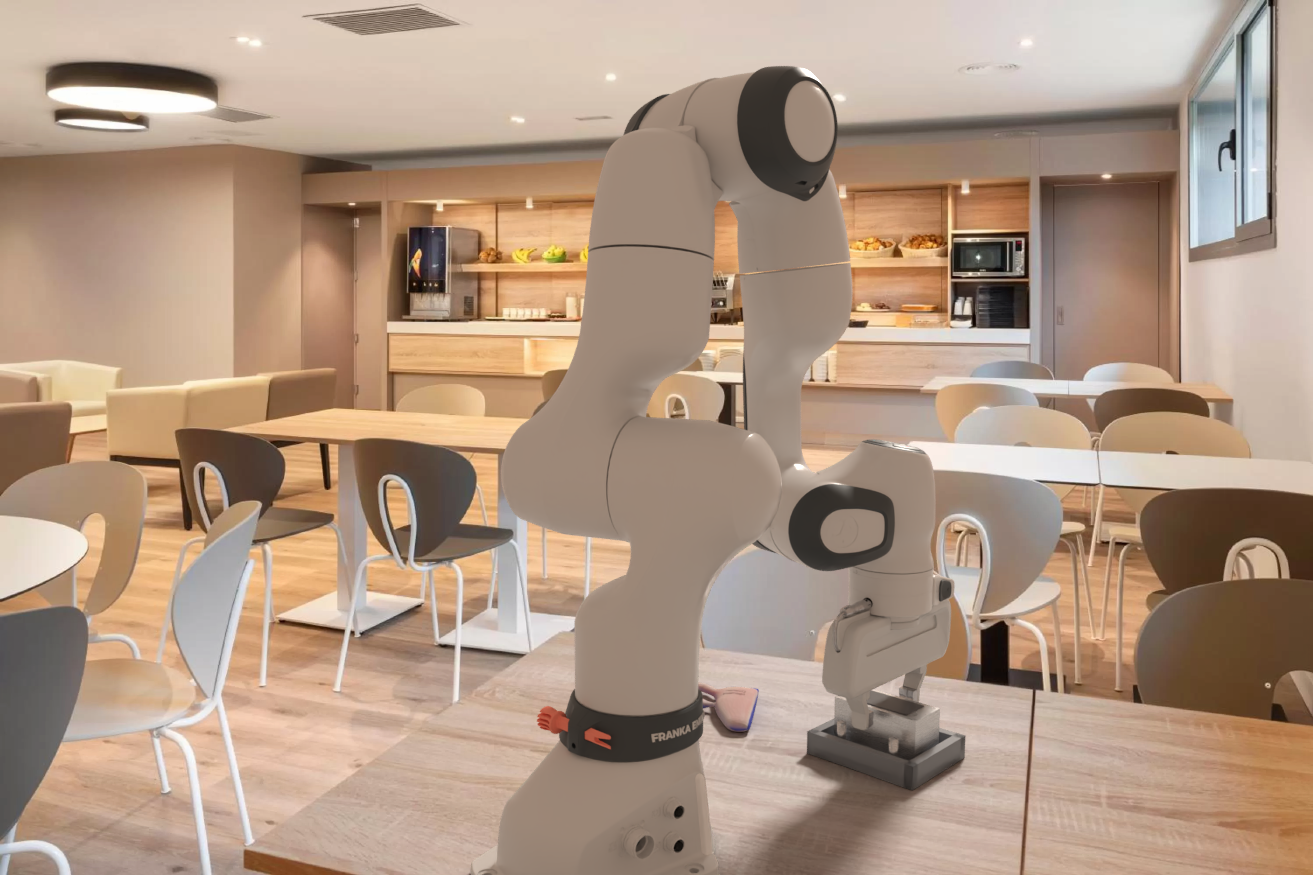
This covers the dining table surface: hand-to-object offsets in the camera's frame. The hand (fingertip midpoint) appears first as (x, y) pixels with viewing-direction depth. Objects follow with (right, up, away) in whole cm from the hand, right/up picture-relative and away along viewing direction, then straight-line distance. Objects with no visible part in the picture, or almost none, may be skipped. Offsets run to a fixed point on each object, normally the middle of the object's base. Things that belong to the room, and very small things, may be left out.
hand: (886, 714), depth 115 cm
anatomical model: (-23, -3, +15) cm, 28 cm away
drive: (0, -4, 0) cm, 4 cm away
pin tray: (0, -5, +1) cm, 5 cm away
